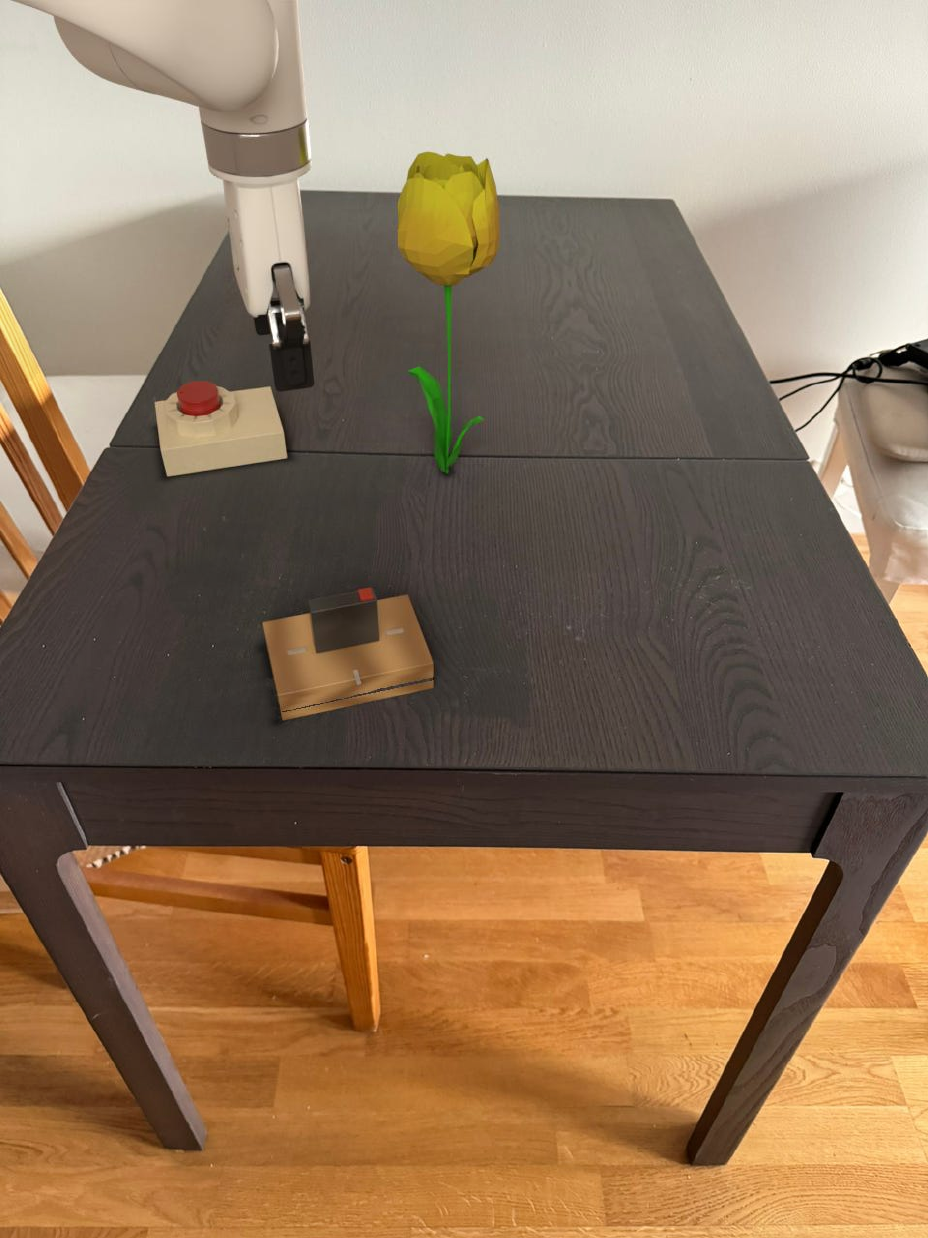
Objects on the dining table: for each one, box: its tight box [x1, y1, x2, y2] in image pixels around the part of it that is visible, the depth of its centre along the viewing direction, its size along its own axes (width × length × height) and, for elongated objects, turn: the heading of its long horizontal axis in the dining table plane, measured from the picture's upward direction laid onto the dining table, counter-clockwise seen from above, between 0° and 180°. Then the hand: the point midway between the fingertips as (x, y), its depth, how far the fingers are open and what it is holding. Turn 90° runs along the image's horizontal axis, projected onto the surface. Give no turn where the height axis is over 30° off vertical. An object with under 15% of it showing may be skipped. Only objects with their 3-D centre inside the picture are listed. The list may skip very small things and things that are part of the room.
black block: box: [307, 587, 379, 654], centre depth 71 cm, size 5×1×5 cm, turn 107°
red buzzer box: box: [154, 385, 288, 477], centre depth 95 cm, size 12×9×5 cm
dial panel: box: [261, 594, 435, 721], centre depth 74 cm, size 12×9×3 cm
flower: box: [396, 151, 501, 474], centre depth 83 cm, size 9×8×30 cm
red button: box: [176, 380, 221, 416], centre depth 92 cm, size 4×4×2 cm
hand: (284, 358), depth 79 cm, fingers open, 9 cm apart
